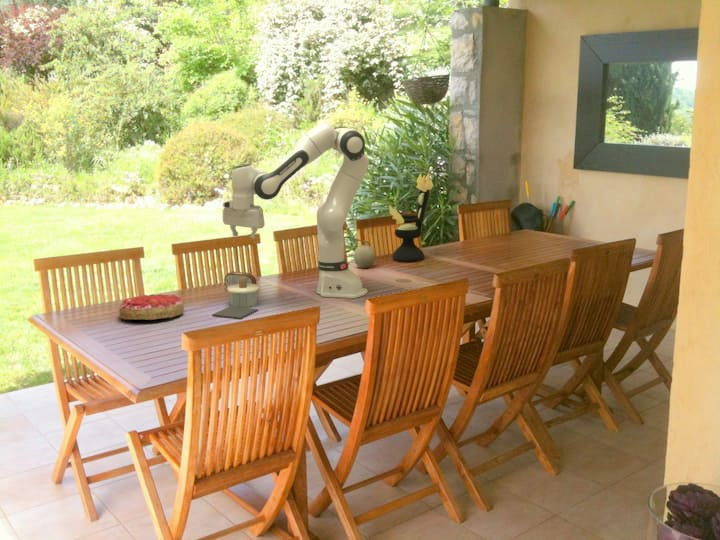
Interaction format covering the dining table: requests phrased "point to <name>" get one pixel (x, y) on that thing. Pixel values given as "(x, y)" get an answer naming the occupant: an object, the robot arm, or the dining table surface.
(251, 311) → the mat
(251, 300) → the bowl
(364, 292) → the robot arm
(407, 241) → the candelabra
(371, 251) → the fruit
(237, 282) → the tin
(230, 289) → the lid
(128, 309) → the cake
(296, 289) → the dining table surface
